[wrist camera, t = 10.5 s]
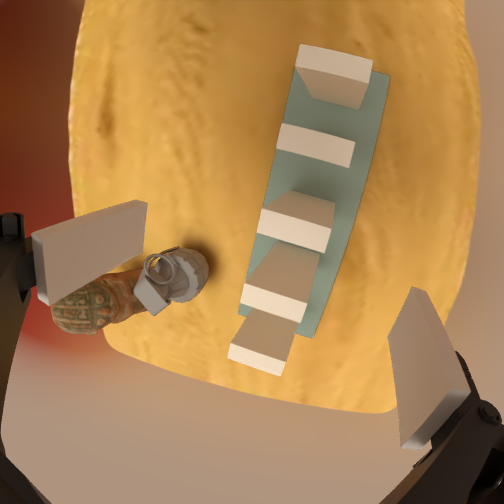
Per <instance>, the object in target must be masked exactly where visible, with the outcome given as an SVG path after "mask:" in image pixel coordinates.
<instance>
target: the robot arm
mask: <svg viewBox="0 0 504 504" xmlns="http://www.w3.org/2000/svg"><path fill="white" fill-rule="evenodd" d="M147 204H148V203H146V202H142V201H139V200H133V201H129V202H126V203H122V204H119V205H115V206H112V207H109V208H105V209H102V210H99V211H96V212H92V213H89V214H86V215H83V216H80V217H77V218H74V219H71V220H68V221H65V222H62V223H59V224H56V225H53V226H50V227H47V228H44V229H41V230H39V231H36V232H33V233H32V236H31V237H29V238H25V228H24V215H23V214H21V213H16V212H10V213H4V214H1V215H0V432H1V421H2V414H3V407H4V401H5V395H6V389H7V384H8V379H9V374H10V369H11V365H12V361H13V357H14V353H15V349H16V344H17V341H18V338H19V334H20V331H21V327H22V323H23V321H24V317H25V314H26V311H27V308H28V305H29V302H30V299H31V288H32V287H34V286H35V285H36V286H37V293H38V298H39V299H40V300H41V301H43V302H44V303H46V304H47V305H48V306H50V305H52V304H54V303H55V302H57V301H59V300H60V299H62V298H64V297H65V296H67V295H69V294H70V293H72V292H74V291H76V290H77V289H79V288H81V287H82V286H84V285H86V284H88V283H89V282H91V281H93V280H95V279H96V278H98V277H100V276H102V275H103V274H105V273H107V272H109V271H110V270H112V269H114V268H116V267H118V266H119V265H121V264H123V263H125V262H127V261H129V260H130V259H132V258H134V257H136V256H138V255H140V254H141V253H143V243H144V232H145V222H146V213H147ZM388 341H389V347H390V353H391V360H392V367H393V374H394V381H395V389H396V398H397V408H398V417H399V431H400V446H401V448H407V449H415V450H420V449H421V448H422V447H423V446H424V445H425V444H426V443H427V442H428V441H429V440H430V439H431V445H432V449H431V450H430V451H429V452H428V453H427V454H426V455H425V456H423V457H422V458H421V459H420V460H419V461H418V462H417V463H416V464H415V465H414V466H413V468H414V469H413V470H412V471H411V472H410V473H409V474H408V475H407V476H406V477H405V478H404V479H403V481H402V482H400V484H399V485H398V486H397V487H396V488H395V489H394V490H393V491H392V492H391V493H390V494H389V495H388V496H387V497H385V499H383V500H382V501H381V502H380V503H379V504H504V425H503V424H501V423H502V419H501V415H500V413H499V412H498V410H497V409H496V408H495V407H494V406H493V405H492V404H491V403H489V402H487V401H485V400H481V399H480V397H479V394H478V391H477V389H476V386H475V384H474V382H473V379H471V374H470V372H469V371H468V370H469V369H468V367H467V364H466V362H465V360H464V359H463V358H462V357H461V355H460V354H459V353H458V352H457V351H455V350H454V348H453V346H452V344H451V341H450V339H449V337H448V335H447V333H446V331H445V328H444V326H443V324H442V322H441V320H440V318H439V316H438V314H437V312H436V310H435V308H434V306H433V304H432V302H431V300H430V298H429V296H428V294H427V292H426V291H424V290H421V289H418V288H415V287H411V290H410V292H409V294H408V296H407V298H406V300H405V303H404V305H403V307H402V309H401V311H400V313H399V315H398V317H397V319H396V321H395V323H394V325H393V327H392V329H391V331H390V333H389V335H388ZM500 481H501V483H500V484H499V482H500ZM0 504H51V502H50V501H49V500H48V499H47V498H46V497H45V496H44V495H43V494H41V492H40V491H39V490H38V489H37V488H36V487H35V486H34V485H33V484H32V483H31V482H30V481H29V480H28V479H27V477H26V476H25V475H24V474H23V473H22V472H21V471H19V470H18V468H16V467H15V466H14V464H12V463H11V461H10V460H9V459H8V458H7V457H6V454H5V449H4V445H3V442H2V439H1V433H0Z"/></svg>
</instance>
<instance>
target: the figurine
mask: <svg viewBox="0 0 504 504" xmlns="http://www.w3.org/2000/svg"><path fill="white" fill-rule="evenodd" d="M143 269H144V268H140V269H136V270H130V271H125V272H120V273H108V274H103V275H102V276H100V277H98V278H96V279H95V280H93V281H91V282H89V283H88V284H86V285H84V286H82V287H81V288H79V289H77V290H76V291H74V292H72V293H70V294H69V295H67V296H65V297H64V298H62V299H60V300H59V301H57V302H55V303H54V304H52V305H51V311H52V316H53V320H54V321H55V323H56V324H57V325H58V326H59V328H60V329H62V330H64V331H66V332H68V333H73V334H84V333H86V334H87V335H89V336H93V335H95V334H97V332H98V330H100V329H101V328H103V327H105V326H106V325H108V324H110V323H114V324H115V323H119V322H122V321H124V320H126V319H128V318H129V317H131V316H132V315H133V314H136V313H140V312H144V311H148V310H147V309H146V308H145V306H144V305H143V304H142V303H141V301H140V300H139V299H138V298H137V297H136V295H135V294H134V288H135V286H136V284H137V282H138V280H139V276H140V274H141V272H142V270H143Z"/></svg>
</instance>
